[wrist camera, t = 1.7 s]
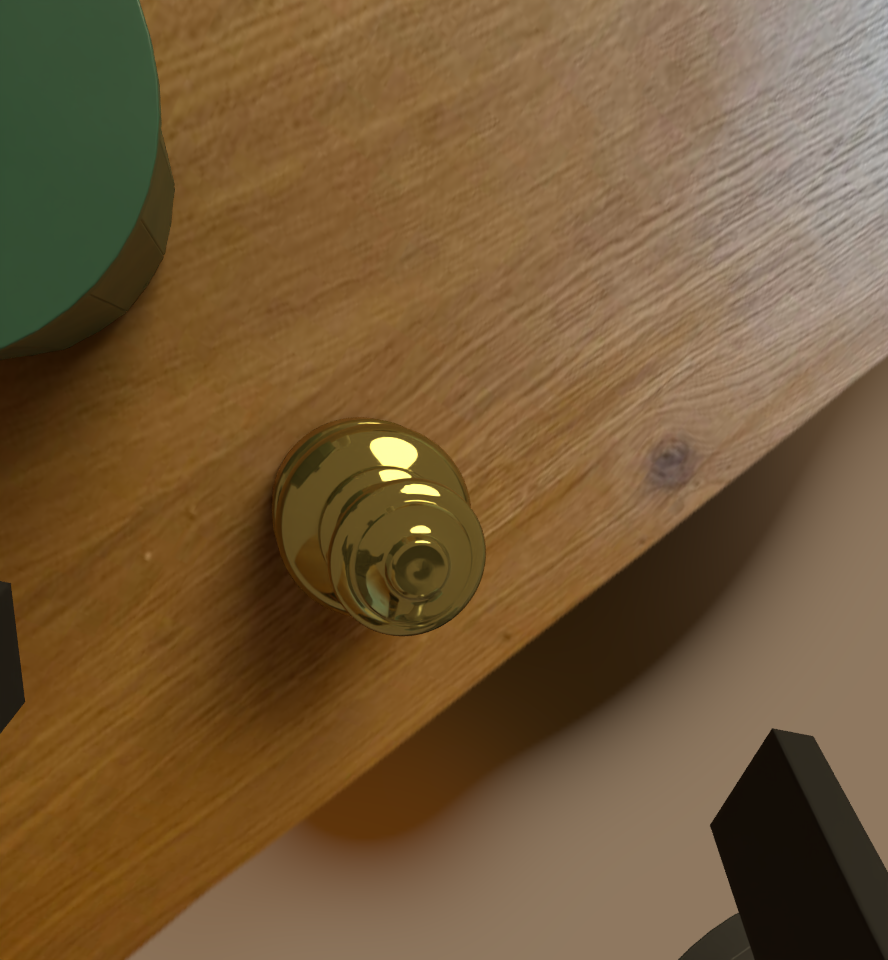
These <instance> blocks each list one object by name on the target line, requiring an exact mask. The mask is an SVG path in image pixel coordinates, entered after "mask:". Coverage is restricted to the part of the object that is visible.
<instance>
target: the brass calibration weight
mask: <svg viewBox="0 0 888 960" xmlns="http://www.w3.org/2000/svg"><path fill="white" fill-rule="evenodd" d="M271 503H272V521H273V529H274V533H275V537H276V540H277V545H278V549H279V552H280V555H281V558H282V561H283V563H284V565H285V567H286V569H287V571H288V573H289V574H290V576H291V577H292V579H293V580H294V582H295V583H296V584H297V585H298V587H299V588H300V589H301V590H302V591H303V592H304V593H305V594H306V595H308V596H309V597H310V598H311V599H313V600H314V601H316V602H317V603H318V604H320V605H322V606H324V607H325V608H327V609H330V610H332V611H334V612H337V613H340V614H343V615H347V616H351V617H353V618H354V619H355V620H357V621H358V622H359V623H361V624H362V625H364V626H365V627H367V628H369V629H371V630H373V631H376V632H379V633H382V634H386V635H392V636H412V635H418V634H423V633H426V632H429V631H432V630H434V629H436V628H439V627H441V626H442V625H444V624H446V623H447V622H449V621H450V620H452V619H453V618H454V617H455V616H457V615H458V614H459V613H460V612H461V611H462V610H463V609H464V608H465V606H466V605H467V604H468V603H469V601H470V600H471V599H472V597H473V596H474V594H475V592H476V590H477V588H478V586H479V584H480V582H481V579H482V576H483V572H484V567H485V560H486V545H485V538H484V534H483V530H482V527H481V525H480V522H479V520H478V518H477V516H476V515H475V513H474V512H473V510H472V509H471V502H470V497H469V493H468V490H467V486H466V484H465V481H464V479H463V477H462V475H461V473H460V471H459V469H458V467H457V466H456V464H455V463H454V462H453V460H452V459H451V458H450V456H449V455H448V454H447V453H446V452H445V451H444V450H443V449H442V448H441V447H440V446H439V445H437V444H436V443H435V442H433V441H432V440H430V439H429V438H427V437H426V436H424V435H422V434H420V433H418V432H416V431H413V430H411V429H408V428H405V427H403V426H401V425H398V424H395V423H392V422H388V421H383V420H378V419H374V418H366V417H353V418H345V419H340V420H336V421H332V422H329V423H327V424H324V425H322V426H320V427H318V428H316V429H315V430H313V431H311V432H310V433H308V434H307V435H306V436H304V437H303V438H302V439H301V440H300V441H299V442H298V443H297V444H296V445H295V446H294V447H293V448H292V449H291V450H290V452H289V453H288V454H287V456H286V457H285V459H284V461H283V462H282V464H281V466H280V468H279V470H278V473H277V475H276V478H275V482H274V486H273V491H272V501H271Z"/></svg>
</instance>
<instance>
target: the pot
mask: <svg viewBox="0 0 888 960" xmlns="http://www.w3.org/2000/svg"><path fill="white" fill-rule="evenodd" d="M174 185H175V184H174V180H173V176H172V172H171V167H170V163H169V159H168V154H167V151H166V147H165V143H164V139H163V135H162V131H161V134H160V146H159V158H158V164H157V168H156V173H155V177H154V182H153V186H152V190H151V195H150V198H149V200H148V203H147V205H146V208H145V211H144V213H143V216H142V218H141V221H140V224H139V226H138V228H137V230H136V232H135V234H134V236H133V237H132V239H131V241H130V243H129V244H128V246H127V248H126V250H125V251H124V253H123V255H122V257H121V258H120V260H119V261H118V262H117V263H116V265H115V266H114V267H113V269H112V270H111V271H110V272H109V274H108V275H107V276H106V278H105V279H104V280H103V281H102V283H101V284H100V285H99V286H98V287H97V288H96V289H95V290H94V291H93V292H92V293H91V294H90V295H89V296H88V297H87V298H86V299H85V300H83V301H82V302H81V303H80V304H79V305H78V306H77V307H76V308H75V309H74V310H73V311H71V312H70V313H68V314H67V315H66V316H64V317H63V318H61V319H60V320H59V321H57V322H56V323H54V324H53V325H51V326H50V327H49V328H47V329H46V330H44V331H43V332H41V333H39V334H37V335H35V336H33V337H31V338H29V339H27V340H25V341H23V342H21V343H19V344H17V345H16V346H14V347H12V348H10V349H7V350H4V351H1V352H0V360H3V359H9V358H15V357H21V356H31V355H37V354H41V353H46V352H52V351H58V350H64V349H66V348H70V347H71V346H73V345H74V344H76V343H78V342H80V341H82V340H84V339H86V338H87V337H89V336H91V335H93V334H95V333H97V332H99V331H100V330H102V329H103V328H105V327H106V326H107V325H109V324H110V323H112V322H113V321H114V320H116V319H117V318H119V317H120V316H122V315H123V314H125V313H126V311H128V310H129V308H130V307H131V305H132V304H133V303H134V302H135V301H136V299H137V298H138V297H139V296H140V294H141V293H142V292H143V290H144V289H145V288H146V287H147V285H148V284H149V282H150V280H151V278H152V276H153V275H154V273H155V271H156V269H157V268H158V266H159V263H160V262H161V260H162V259H163V255H164V254H165V249H166V244H167V240H168V235H169V231H170V227H171V219H172V207H173V198H174V192H175V188H174Z"/></svg>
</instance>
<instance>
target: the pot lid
mask: <svg viewBox="0 0 888 960" xmlns="http://www.w3.org/2000/svg"><path fill="white" fill-rule="evenodd" d="M160 134H161V105H160V85H159V79H158V74H157V68H156V62H155V57H154V51H153V46H152V42H151V38H150V34H149V31H148V28H147V24H146V21H145V18H144V15H143V11H142V8H141V5H140V1H139V0H0V352H1V351H4V350H7V349H10V348H12V347H14V346H16V345H17V344H19V343H21V342H23V341H25V340H27V339H29V338H31V337H33V336H35V335H37V334H39V333H41V332H43V331H44V330H46V329H47V328H49V327H50V326H51V325H53V324H54V323H56V322H57V321H59V320H60V319H61V318H63V317H64V316H66V315H67V314H68V313H70V312H71V311H73V310H74V309H75V308H76V307H77V306H78V305H79V304H80V303H81V302H82V301H83V300H85V299H86V298H87V297H88V296H89V295H90V294H91V293H92V292H93V291H94V290H95V289H96V288H97V287H98V286H99V285H100V284H101V283H102V281H103V280H104V279H105V278H106V276H107V275H108V274H109V272H110V271H111V270H112V269H113V267H114V266H115V265H116V263H117V262H118V261H119V260H120V258H121V257H122V255H123V253H124V251H125V250H126V248H127V246H128V244H129V243H130V241H131V239H132V237H133V236H134V234H135V232H136V230H137V228H138V226H139V224H140V221H141V218H142V216H143V213H144V211H145V208H146V205H147V203H148V200H149V198H150V195H151V190H152V186H153V182H154V177H155V173H156V168H157V164H158V158H159V146H160Z"/></svg>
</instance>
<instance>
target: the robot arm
mask: <svg viewBox="0 0 888 960" xmlns="http://www.w3.org/2000/svg"><path fill="white" fill-rule="evenodd" d="M24 702H25V698H24V690H23V681H22V673H21V665H20V657H19V648H18V640H17V632H16V624H15V615H14V607H13V599H12V591H11V583H7V582H2V581H0V733H1V732H2V731H3V729H4V728H5V727H6V726H7V724H8V723H9V722H10V720H11V719H12V718H13V717H14V715H15V714H16V713H17V711H18V710H19V709H20V708H21V706H22V705H23V704H24ZM710 827H711V830H712V833H713V836H714V839H715V842H716V845H717V848H718V851H719V854H720V857H721V860H722V863H723V866H724V869H725V872H726V875H727V878H728V881H729V884H730V887H731V890H732V893H733V896H734V899H735V902H736V905H737V908H738V911H739V914H740V917H741V920H742V923H743V926H744V929H745V932H746V935H747V938H748V941H749V944H750V947H751V950H752V953H753V956H754V959H755V960H888V872H887V870H886V868H885V866H884V864H883V863H882V861H881V859H880V857H879V855H878V853H877V852H876V850H875V848H874V846H873V844H872V842H871V841H870V839H869V837H868V835H867V833H866V832H865V830H864V828H863V826H862V824H861V822H860V821H859V819H858V817H857V815H856V813H855V811H854V810H853V808H852V806H851V804H850V802H849V800H848V799H847V797H846V795H845V793H844V791H843V790H842V788H841V786H840V784H839V782H838V780H837V779H836V777H835V775H834V773H833V771H832V769H831V768H830V766H829V764H828V762H827V760H826V759H825V757H824V755H823V753H822V751H821V749H820V748H819V746H818V744H817V742H816V740H815V738H814V737H813V736H809V735H804V734H799V733H793V732H788V731H783V730H778V729H772V730H771V731H770V733H769V734H768V736H767V737H766V739H765V740H764V742H763V744H762V745H761V747H760V748H759V750H758V751H757V753H756V754H755V756H754V757H753V759H752V761H751V762H750V764H749V765H748V767H747V768H746V770H745V772H744V773H743V775H742V776H741V778H740V779H739V781H738V782H737V784H736V786H735V787H734V789H733V790H732V792H731V793H730V795H729V796H728V798H727V800H726V801H725V803H724V804H723V806H722V807H721V809H720V810H719V812H718V814H717V815H716V817H715V818H714V820H713V822H712V823H711V824H710Z"/></svg>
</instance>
